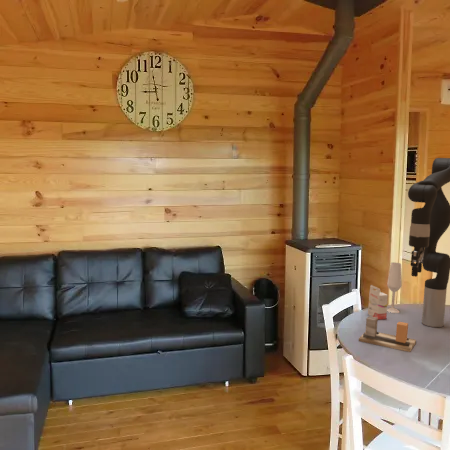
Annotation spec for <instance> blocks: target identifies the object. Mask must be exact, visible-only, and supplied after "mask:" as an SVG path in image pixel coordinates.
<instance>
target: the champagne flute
mask: <svg viewBox="0 0 450 450" xmlns="http://www.w3.org/2000/svg"><path fill="white" fill-rule="evenodd" d="M389 265H390V266H389V270H388V277H387V281H386V282H387V283H386V284H387V288H388V289H389V290H390V291H391V292H392V295H391V297H392V298H391V306H390V307H387V311H388V312H387V313H390V312H391V313H392V314H399V313H400V310H399V309H397V308H395V300H396V299H395V296H396V292H398V291H399V290H401V288H402V263H401V262H396V261H395V262H390V264H389ZM391 313H390V314H391Z"/></svg>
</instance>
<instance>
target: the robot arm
mask: <svg viewBox="0 0 450 450" xmlns="http://www.w3.org/2000/svg"><path fill="white" fill-rule="evenodd" d="M448 183H450V157H435V159H434V160H433V162H432V165H431V174H429V175H427V176H426V177H425V178H424V179H423V180H420V181H417V182H415V183H413V184H412V185H410V187H409V189H408V191H407V196H408V199H409V200H410V201H411V202H414V203H424V205H423V206H422V207H417V208H413V209H412V210H411V219H410V226H409V237H408V245H409V247H413V248H414V249H412V251H411V257H410V267H411V276H412V277H418V274H420V273H422V270H424V271H427V272H429V273H430V272H431V273H435V274H436V276H435V277H434V278H429V279H425V281H424V289H423V303H422V315H421V324H423V325H425V326H427V327H431V328H432V327H433V328H442V327H444V326H445V325H444V323H445V316H446V315H445V313H446V301H447V289H448V288H447V287H448V283H449V278H450V255H449V254H448V253H444V252H439V251H437V246H438V243H439V240H440V239H441V237H442V236H443V235H444V233H446V231H447V230H448V229H449V227H450V203H449V201H448V199H447V197H446V195H445V193H444V190H443V188H442V187H443V186H444V185H447V184H448ZM422 268H423V269H422Z"/></svg>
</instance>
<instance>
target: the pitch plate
mask: <svg viewBox="0 0 450 450" xmlns="http://www.w3.org/2000/svg"><path fill="white" fill-rule="evenodd" d="M365 320H366V323H365V332H363V333H362V334H361V336H359V337H358V342H362V343H367V344H370V345H376V346H381V347H384V348H391V349H395V350H399V351H404V352H409V353H410V352H412V350H413V348H414V346H415V345H416V343H417V339H414V338H409V337H407V341H406V343H402V342H397V341H396V334H395V335H394V334H391V333H390V334H389V333H383V332H379V331H378V318H376V317H372V316H370V315H368V316H367V317H366V319H365Z"/></svg>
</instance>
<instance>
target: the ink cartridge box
mask: <svg viewBox="0 0 450 450" xmlns="http://www.w3.org/2000/svg"><path fill="white" fill-rule="evenodd" d="M388 299H389V294H386V293H384V292H383V291H382V292H381V288H379V287H377V286H374V285H373V284H370V286H369V295H368V308H367V315H368V314H369V315H368V316H371V317H376V318H378V320H387V315H388V312H387V309H388Z"/></svg>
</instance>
